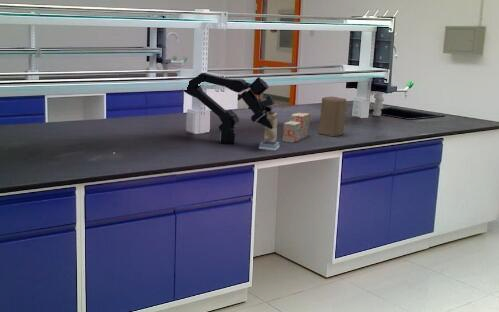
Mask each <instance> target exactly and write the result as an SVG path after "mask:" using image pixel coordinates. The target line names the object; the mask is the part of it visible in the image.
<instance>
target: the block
mask: <svg viewBox="0 0 499 312" xmlns="http://www.w3.org/2000/svg"><path fill="white" fill-rule="evenodd" d="M320 105H321V107H320V116H319V126H318V133H319V134H320V135H324V136H328V137H331V138H332V137H338V136H342V135H344V129H345V127H344V126H345V119H346V109H347V99H346V98H343V97H337V96H326V97H325V96H324V97H322V98H321V104H320Z"/></svg>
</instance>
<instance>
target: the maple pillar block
mask: <svg viewBox="0 0 499 312" xmlns="http://www.w3.org/2000/svg"><path fill="white" fill-rule="evenodd" d="M278 116H279V113H278V112H275V111H273V110H271V112H268V113H267V119H268V120H269V122H270V124H271V125H272V127H273V128H272V129H270V128H268V127H266V126H264V139H263V141H267V142H276V141H277V134H278V131H277V130H278V118H279V117H278Z"/></svg>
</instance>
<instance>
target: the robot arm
mask: <svg viewBox="0 0 499 312" xmlns="http://www.w3.org/2000/svg"><path fill="white" fill-rule="evenodd" d="M188 81H189V85H188V87H187V90H183V89H182V92H183V93H185V94H187V95H189V96H191V97H193V98H196V99H197V100H198V101H199V102H201V103H202V104H203V105H204V106H206V107H207V108H208V109H209V110H210V111H211V112H212V113H214V114H215V115H216V116H217V117H218V118H219V120H220V122H221V124H220V125H218V131H219V139H218V141H219V143H220V144H232V145H233V144H235V142H236V141H235V140H236V133H235V129H236V127H237V126H238V125H239V123H240V118H239V116H238V113H236V112H234V110H232V109H229V110H227V109H225V108H224V107H222V106H221V105H220V104H219V103H217V102H216V101H215V100H214V99H213V98H212V97H210V96H209V95H208V94H207V93H206V92H205V91H204V90H203V87H202V85H200V86H198V84H200V83H201V82H204V83H209V84H212V85H217V86H221V87H225V88H227V89H228V90H230V91H232V92H235V93H239V94H237V101H241V100H242V101H243V102H244V103H245V104H246V105H247V107H248V108H247V109H248V110H251V112H252V113H253V114H252V115H251V116H250V120H251V121H252V122H253V123H258V124H259V125H262V126H264V127H265V126H266V127H268V128H270V129H272V128H273V127H272V125H271V124H270V122H269V120H268V119H267V113H268V112H271V111H273V107H272V106H274V105H275V104H276V103H275V98H273V97H272V96H271V95H268V96H266V98H265V99H264V100H262V99H260V98H259V99H258V97H257V96H259V97H260V96H261V95H262V94H263V93H264V92H266V91H267V90H268V89H269V85H268V83H267V82H266V81H264V79H262V78H261V77H260V76H259V77H256V78H255V80H254V81H253V82H252V83H250V82H247V81H246V80H245V79H242V78H228V77H223V76H219V75H215V74H211V73H208V72H201V73H200V74H198V75H196V76H195V77H193V78H191V79H190V80H188Z"/></svg>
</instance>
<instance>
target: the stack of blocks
mask: <svg viewBox="0 0 499 312" xmlns="http://www.w3.org/2000/svg"><path fill="white" fill-rule="evenodd" d="M310 117H311V113H307V112H296V113H292V114H291V115H290V120H289V121H286V122H284V123H283V129H282V130H283V131H282V141H283V142H287V143H296V142H298V141H300V140H303V139H305V138H307V137H308V136H309V127H310V119H311V118H310Z"/></svg>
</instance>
